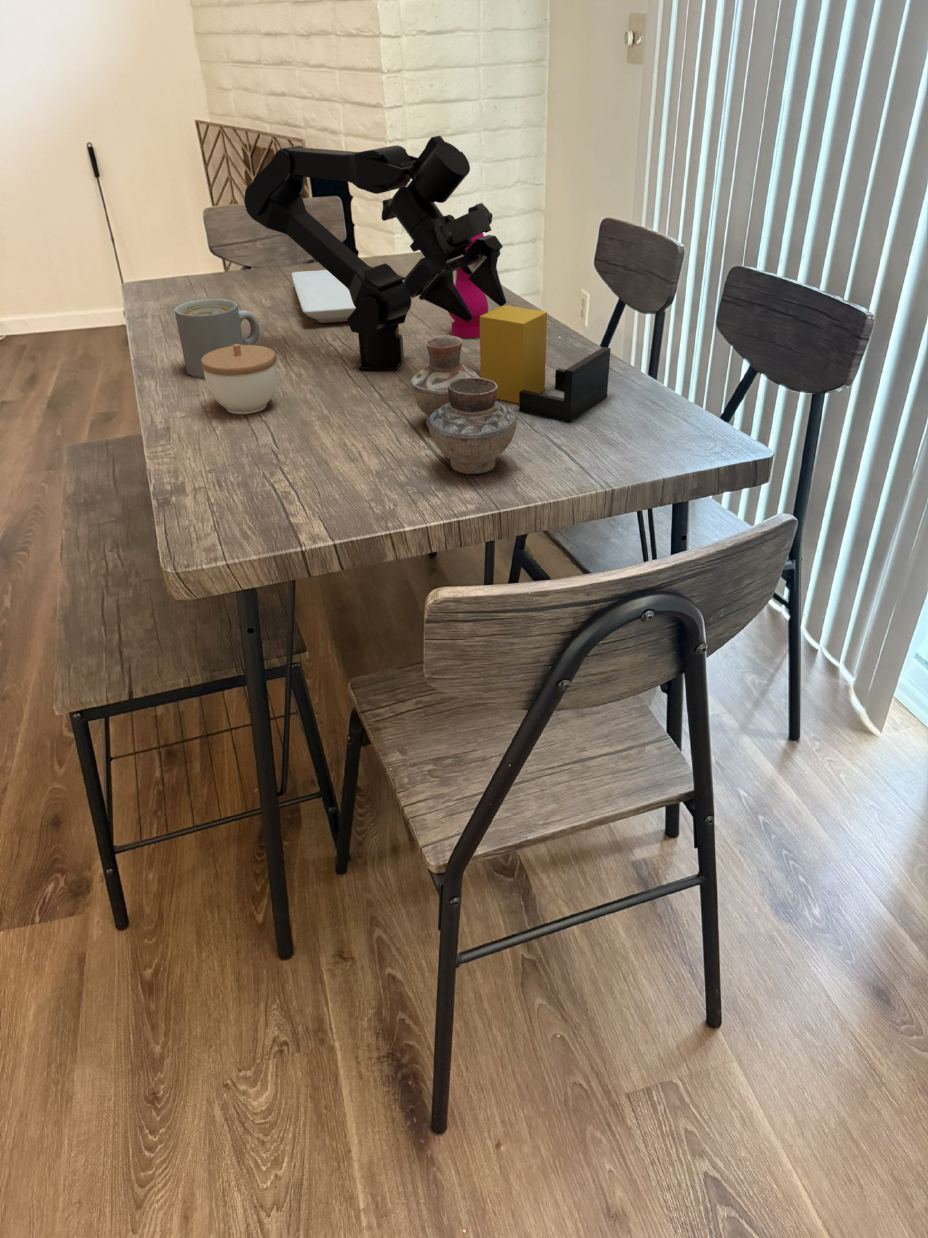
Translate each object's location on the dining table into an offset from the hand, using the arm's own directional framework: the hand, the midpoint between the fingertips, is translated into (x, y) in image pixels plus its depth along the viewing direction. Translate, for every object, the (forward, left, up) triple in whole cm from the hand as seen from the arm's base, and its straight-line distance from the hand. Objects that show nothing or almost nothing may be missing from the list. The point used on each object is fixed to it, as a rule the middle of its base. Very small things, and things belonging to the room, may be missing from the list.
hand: (487, 312), depth 133 cm
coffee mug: (-45, +8, -12) cm, 47 cm away
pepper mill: (-6, +28, -12) cm, 31 cm away
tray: (-34, +46, -12) cm, 58 cm away
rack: (+12, -6, -12) cm, 18 cm away
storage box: (+4, -2, -12) cm, 12 cm away
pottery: (-2, -22, -12) cm, 25 cm away
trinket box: (-36, -10, -12) cm, 39 cm away
